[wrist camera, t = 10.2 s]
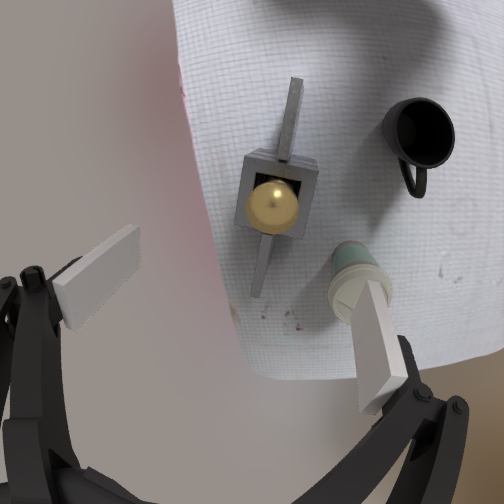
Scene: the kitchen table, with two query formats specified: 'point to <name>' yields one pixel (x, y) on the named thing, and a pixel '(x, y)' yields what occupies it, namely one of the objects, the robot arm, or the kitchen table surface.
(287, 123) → the grey piece
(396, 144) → the mug
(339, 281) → the coffee cup
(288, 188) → the pin
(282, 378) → the kitchen table surface
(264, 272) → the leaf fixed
